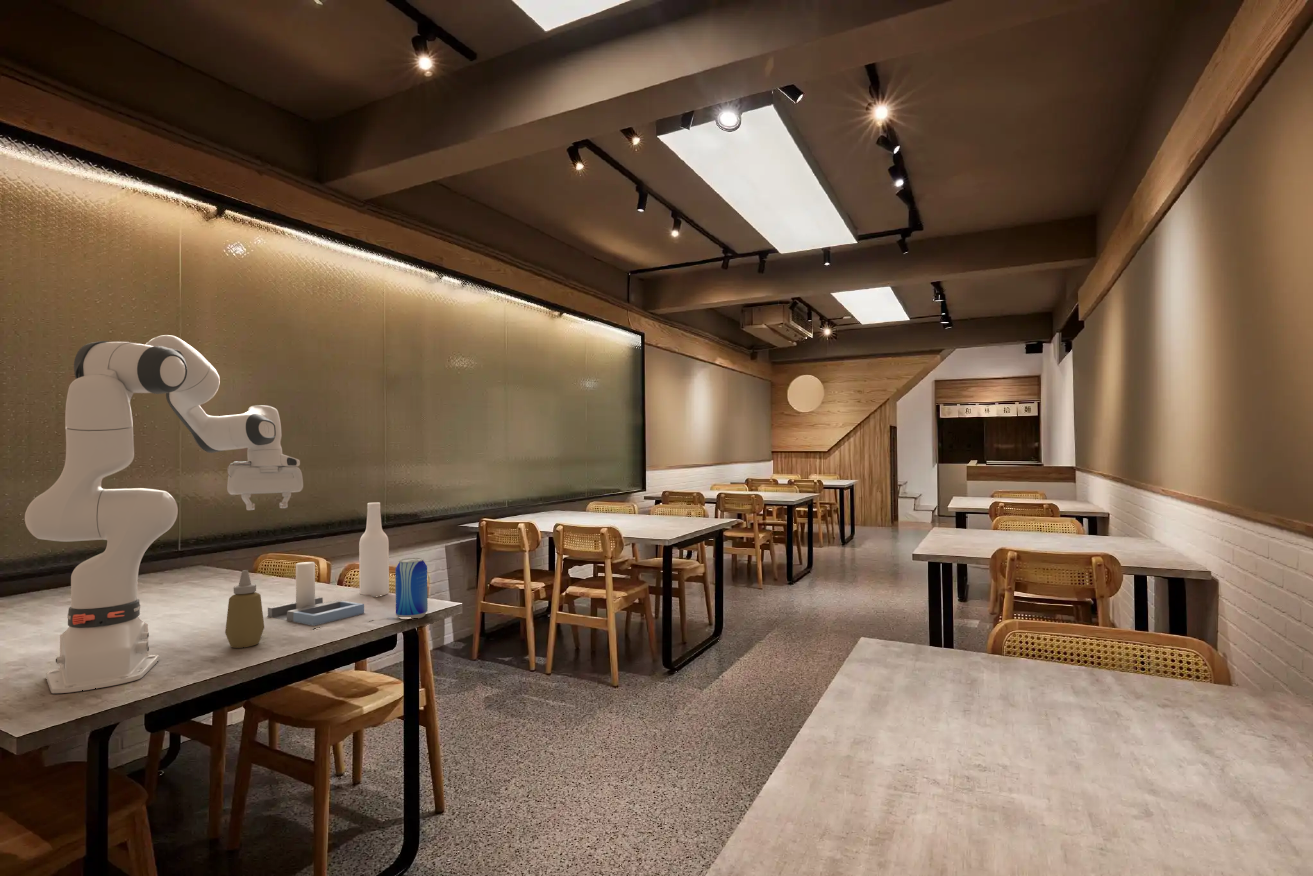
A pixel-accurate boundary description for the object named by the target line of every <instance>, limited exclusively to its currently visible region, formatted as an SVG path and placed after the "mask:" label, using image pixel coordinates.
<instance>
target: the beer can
mask: <svg viewBox="0 0 1313 876" xmlns="http://www.w3.org/2000/svg"><path fill="white" fill-rule="evenodd" d="M394 571H395V572H394V573H395V615H396V616H397V617H411V618H418V619H422V618H424V617H425V616H426V614H427V612H428V610H429V609H428V608H429V607H428V565H427V564H426V562H425V559H424V557H408V558H406V557H405V558H402V559H399V560H398V564H397V565H396V567H395V569H394Z"/></svg>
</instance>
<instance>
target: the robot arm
mask: <svg viewBox="0 0 1313 876" xmlns="http://www.w3.org/2000/svg"><path fill="white" fill-rule="evenodd" d="M73 371H74V372H73V373H74V377H75V379H74V380H72V382H71V383H70V384H69V386H68V389H67V395H66V401H65V412H64V413H65V415H64V418H65V419H64V420H65V421H64V423H65V442H66V443H65V461H64V465H63V470H62V471H61V474H60V476H59V477H58V478H57V480H56V481H55V482H54V483H53V484H52V486H50V487H49V488H48V489H46V490H45V491H44V492H42V493H41V494H39V495H37V496H35V498H33V499H32V500H31V502H30V503H29V504H28V506H27V508H26V511H25V513H24V523H25V526H26V529H27V530H28V531H29V533H30V534H31V535H32V536H33V537H35V538H36V539H38V540H45V541H53V542H67V543H68V542H81V541H82V542H83V541H99V540H102V541H103V540H104V541H107V543H106V547H105V550H104V551H103V552H101V553H99V554H97V555H94V556H92V557H90V558H88V559H86V560H83V561H82V562H81V563H79V564H78V565H77V566H75V568H74V569H73V571H72V573H71V576H70V607H68V613H67V626H68V628H67V629H66V630H65V631H63V632H62V633H61V634H60V635H59V656H57V657H56V658H55V663H56V665H58V664H59V668H55V669H52V670H49V671H46V673H45V679H47V680H46V682H47V685H48V687H49V690H50V692H51V694H64V693H74V692H82V690H83V691H89V690H94V689H95V688H96V689H100V688H106V687H112V686H117V685H122V684H126V683H129V682H134V681H137V680H140V679H142V678H143V677H144V676H145V675H146V674H147V673H148V672H149V671H150V670H151V669H152V668H153V667H154V666H155V664H157V663H158V662H159V660H160V656H159V654H150V651H149V650H150V645H149V637H150V636H149V635H150V633H149V624H148V623H147V622H146V621H144V620H142V619H141V618H140V614H141V604H140V599H139V598H138V581H139V580H138V579H139V572H140V571H139V569H140V565H141V562H142V559H143V557H144V555H145V552H146V551H147V550H148V548H149V547H150V546H152V544H153V543H154V541H156V540H157V539H159V537H161V536H163V534H165V533H166V532H168V531H169V530H170V529H171V528H172V527H173V526H174V525H175V523H176V521H177V518H178V514H179V511H178V510H179V509H178V503H177V501H176V499H175V498H174V497H173V496H172V495H171V494H170V493H169V492H168V491H166V490H161V489H160V490H159V489H155V488H146V487H145V488H144V487H135V488H132V487H131V488H102V483H103V482H102V481H103V479H104V478H107V477H110V476H111V475H114V474H116V473H118V472H120V471H122V470H124V469H126V468H128V467H129V466H130V465H131V464H132V463H133V461H134V458H135V444H134V443H135V442H134V426H133V425H134V423H133V422H134V421H133V414H132V413H133V412H132V407H131V399H132V397H133V395H134V394H154V395H162V394H165V397H166V398H165V399H166V401H167V403H168V405H169V407H170V408H171V410H172V411H173V413H174V414H175V415H176V416H177V418H178V419H180V421H181V422H182V424H183V426H185V427H186V428H187V429H188V431H189V432H190V434H191V435H192V437H193V439H194V442H195V443H196V444H197V445H196V446H198V447H199V448H200V449H201V450H203V451H205V452H207V453H210V454H214V453H220V452H225V451H232V450H241V449H247V450H246V453H247V455H246V456H247V461H233V462H231V463H230V464H229V465H228V466H227V475H228V477H227V487H226V488H227V489H226V491H227V492H228V494H229V495H232V496H236V495H241V500H242V501H243V503H244V505H245V508H246V511H253V510H254V511H255V509H256V503H253V502H252V501H251V500H250V498H252V497H251V495H255V494H258V495H260V494H280V493H281V495H282V496H281V497H283V499H282V501H281V502H280V501H279V504H278V505H279V509H286V508H288V507H289V506H288V505H289V503H288V502H289V501H290V499H291V497H292V493H299V492H301V491H303V489H304V480H303V478H304V477H303V473H302V470H301V469H300V465H301V461H300V459H298V458H295V457H293V456H289V455H286V454H283V448H282V445H281V441H282V436H283V435H282V425H281V419H280V414H279V411H278V409H277V408H275V407H274V406H271V405H264V404H255V405H251V406H249V408H248V410H247V411H245V412H241V413H239V414H229V415H220V416H219V415H209V414H207V413H206V411H205V410H204V409H203V408H202V407H201V405H204V404H206V403H208V402H209V401H210V400H211V399H213V398H214V397H215V395H216V394H217V392H218V390H219V388H220V382H221V379H220V375H219V373H218V371H217V369H216V368H215V367H214V366H213V365H212V364H211V363H210V362H209V360H207V358H205V357H204V355H203V354H201V353H200V352H199V351H198V350H197V349H196V348H194V347H193V346H191V344H188V343H187V342H186V341H184V340H182V339H181V338H180V337H177V336H175V335H169V334H164V335H158V336H155V337H153V338H151V339H150V340H149V341H147V342H146V343H145V344H142V343H137V342H131V341H130V342H129V341H107V340H106V341H105V340H103V341H102V340H101V341H100V340H99V341H95V342H90V343H86V344H84V345H82V346H81V347H80V348H79V349H78V351H77V353H76V355H75V357H74V362H73ZM157 661H158V662H157Z"/></svg>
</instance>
